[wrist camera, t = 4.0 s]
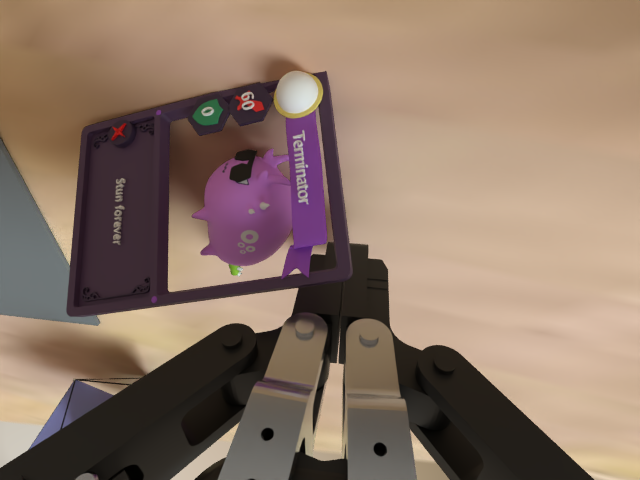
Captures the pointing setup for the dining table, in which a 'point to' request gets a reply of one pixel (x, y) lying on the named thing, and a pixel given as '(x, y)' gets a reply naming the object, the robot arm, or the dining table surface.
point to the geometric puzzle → (74, 406)
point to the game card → (205, 199)
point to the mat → (29, 255)
